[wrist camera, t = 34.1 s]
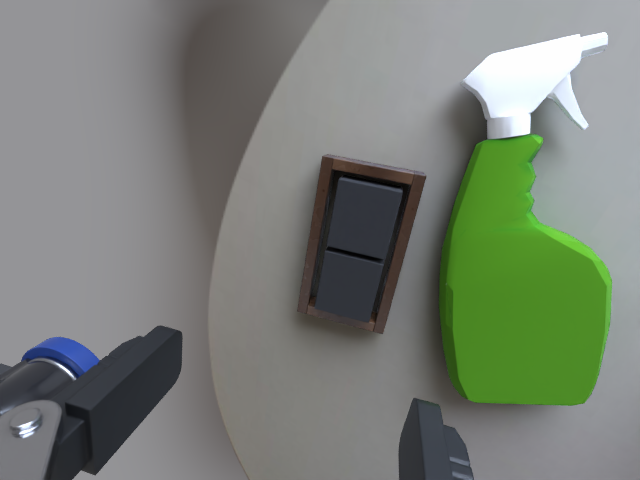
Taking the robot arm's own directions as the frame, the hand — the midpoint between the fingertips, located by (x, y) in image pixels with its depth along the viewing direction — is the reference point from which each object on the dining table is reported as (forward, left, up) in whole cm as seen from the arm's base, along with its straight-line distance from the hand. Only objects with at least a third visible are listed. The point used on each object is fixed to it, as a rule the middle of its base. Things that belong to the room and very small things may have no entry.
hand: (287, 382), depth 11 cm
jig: (+1, 0, -16) cm, 16 cm away
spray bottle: (+12, +3, -17) cm, 20 cm away
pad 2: (+1, -3, -16) cm, 17 cm away
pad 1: (+1, +2, -16) cm, 17 cm away
